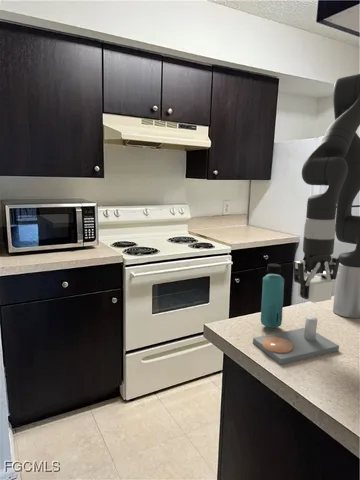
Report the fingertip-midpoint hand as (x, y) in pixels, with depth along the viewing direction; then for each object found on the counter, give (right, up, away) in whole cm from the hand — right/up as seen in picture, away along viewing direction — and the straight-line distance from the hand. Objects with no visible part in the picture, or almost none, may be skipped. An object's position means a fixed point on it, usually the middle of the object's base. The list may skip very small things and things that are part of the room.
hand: (314, 296), depth 93 cm
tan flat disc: (-10, -13, -2) cm, 17 cm away
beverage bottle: (-8, -12, +12) cm, 19 cm away
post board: (-5, -14, +1) cm, 15 cm away
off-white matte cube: (0, 0, 0) cm, 0 cm away
